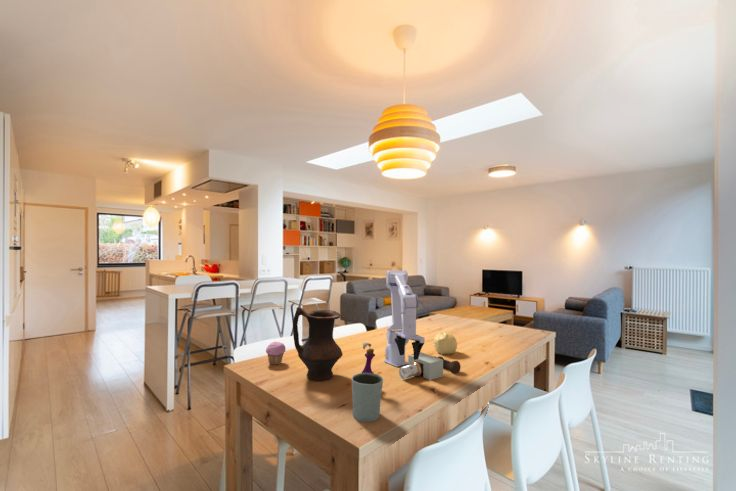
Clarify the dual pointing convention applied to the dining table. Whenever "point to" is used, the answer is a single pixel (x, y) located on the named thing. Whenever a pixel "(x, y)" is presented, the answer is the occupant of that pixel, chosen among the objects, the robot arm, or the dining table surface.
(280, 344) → the cupcake
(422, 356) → the block
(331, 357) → the jug
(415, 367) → the silver copper cylinder
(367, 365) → the perfume bottle
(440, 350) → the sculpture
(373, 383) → the grey-green cup
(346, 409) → the dining table surface
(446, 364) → the bolt
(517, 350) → the dining table surface
